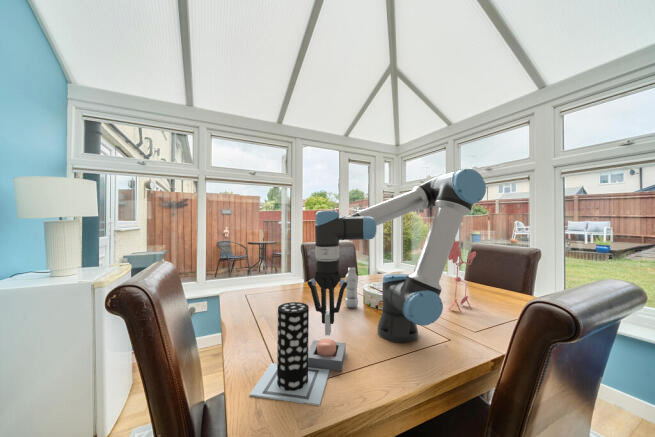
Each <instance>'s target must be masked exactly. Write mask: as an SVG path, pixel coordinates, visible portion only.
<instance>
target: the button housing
mask: <svg viewBox="0 0 655 437" xmlns="http://www.w3.org/2000/svg"><path fill="white" fill-rule="evenodd" d="M318 341H319V340H316V339H313V341H312V342H311V344H310V346H309V347H308V367H310V368H319V369H328V370H330V371H334V372H342V371H343V367H344V362H345V361H344V360H345V357H346V351H347V350H346V345H347V344H346V342H340V341H335V342H336V357H333V356H324V355H317V342H318Z"/></svg>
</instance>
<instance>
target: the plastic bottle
mask: <svg viewBox="0 0 655 437" xmlns="http://www.w3.org/2000/svg"><path fill="white" fill-rule="evenodd" d="M344 281H347V282H348V284H347V286H346V288H345V292H346V293H345V299H344V300H345V301H344V303H345V306H346V307H347V308H349V309H355V308H358V307H359V306H358V305H359V298H358V285H359V284H358V282H359V276H358V275H357V273H356V266H348V268H347V273H346V274H345V277H344Z"/></svg>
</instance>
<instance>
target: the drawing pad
mask: <svg viewBox="0 0 655 437" xmlns="http://www.w3.org/2000/svg"><path fill="white" fill-rule="evenodd" d="M330 371H331V370H328V369H319V368H310V367H308V383H307V384H306V385H305V386H304V387H303V388H301V389H299V390H295V391H286V390H283V389H281V388H280V387H279V386H278V384H277V363H275V362H271V363H270V364H269V366H268V367H267V369H266V370H265V371H264V372H263V374H262V376H261V377H260V379H259V380H258V381H257V382H256V384H255V386H254V387H253V388H252V390H251V391H250V393H249V397H255V398H263V399H267V400H268V399H269V400H270V399H271V400H276V401H282V400H283V402H290V401H291V402H290V403H299V404H304V403H306V404H305V405H311V404H314V405H313V406H318V405H321V403H322V399H323V395H324V392H325V388H326V386H327V381H328V378H329V374H330Z"/></svg>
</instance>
